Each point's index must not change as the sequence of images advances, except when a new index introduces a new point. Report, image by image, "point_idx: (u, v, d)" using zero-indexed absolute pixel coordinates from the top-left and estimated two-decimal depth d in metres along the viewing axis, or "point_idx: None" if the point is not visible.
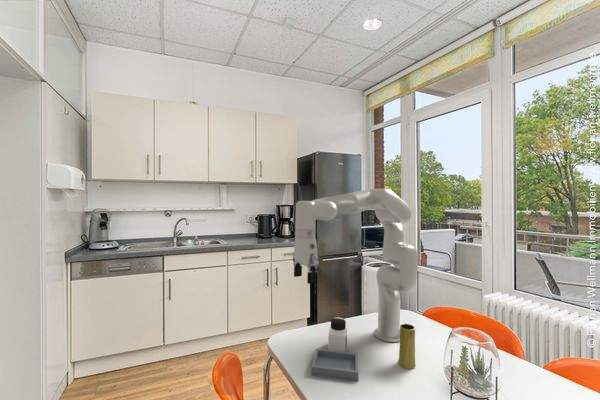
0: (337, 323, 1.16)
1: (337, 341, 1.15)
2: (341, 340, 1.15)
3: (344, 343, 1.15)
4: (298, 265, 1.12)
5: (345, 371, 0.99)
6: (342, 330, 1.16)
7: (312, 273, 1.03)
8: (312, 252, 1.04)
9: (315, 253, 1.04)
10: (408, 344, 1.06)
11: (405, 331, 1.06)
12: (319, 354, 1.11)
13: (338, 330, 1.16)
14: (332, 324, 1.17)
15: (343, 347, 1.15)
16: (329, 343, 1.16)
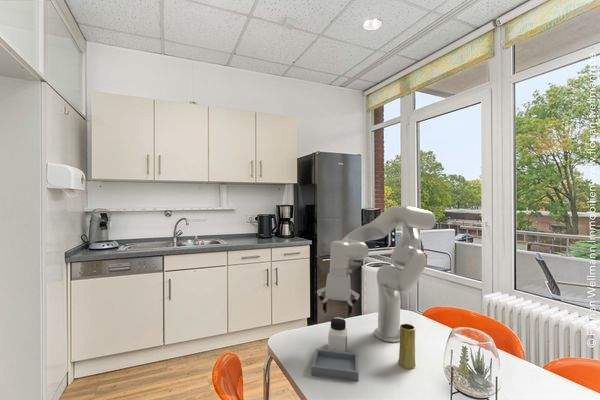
0: (337, 323, 1.16)
1: (337, 341, 1.15)
2: (341, 340, 1.15)
3: (344, 343, 1.15)
4: (326, 301, 1.19)
5: (345, 371, 0.99)
6: (342, 330, 1.16)
7: (352, 305, 1.17)
8: (350, 287, 1.18)
9: None
10: (408, 344, 1.06)
11: (405, 331, 1.06)
12: (319, 354, 1.11)
13: (338, 330, 1.16)
14: (332, 324, 1.17)
15: (343, 347, 1.15)
16: (329, 343, 1.16)
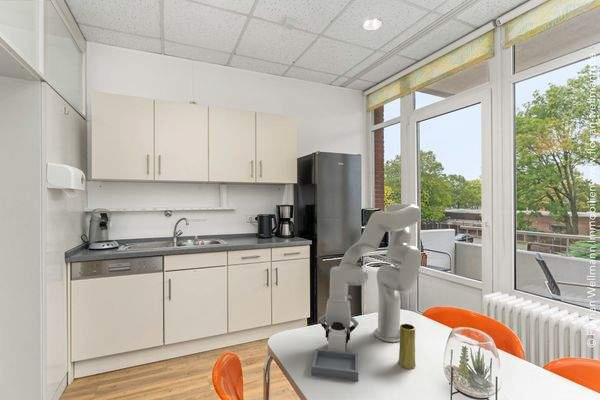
0: (337, 323, 1.16)
1: (337, 340, 1.15)
2: (341, 340, 1.15)
3: (344, 343, 1.15)
4: (328, 329, 1.19)
5: (345, 371, 0.99)
6: (342, 330, 1.16)
7: None
8: (350, 313, 1.18)
9: None
10: (408, 344, 1.06)
11: (405, 331, 1.06)
12: (319, 354, 1.11)
13: (338, 330, 1.16)
14: (332, 324, 1.17)
15: (342, 347, 1.15)
16: (329, 343, 1.16)
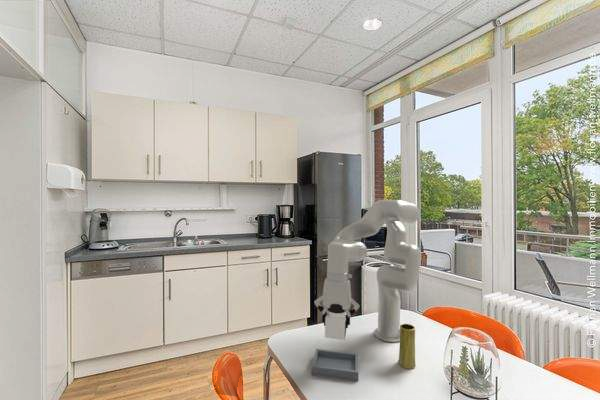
0: (335, 305, 1.02)
1: (335, 325, 1.01)
2: (339, 324, 1.01)
3: (343, 328, 1.01)
4: (325, 312, 1.05)
5: (345, 371, 0.99)
6: (341, 313, 1.02)
7: (350, 316, 1.03)
8: None
9: None
10: (408, 344, 1.06)
11: (405, 331, 1.06)
12: (319, 354, 1.11)
13: (336, 313, 1.02)
14: (330, 306, 1.03)
15: (341, 333, 1.01)
16: (326, 328, 1.02)
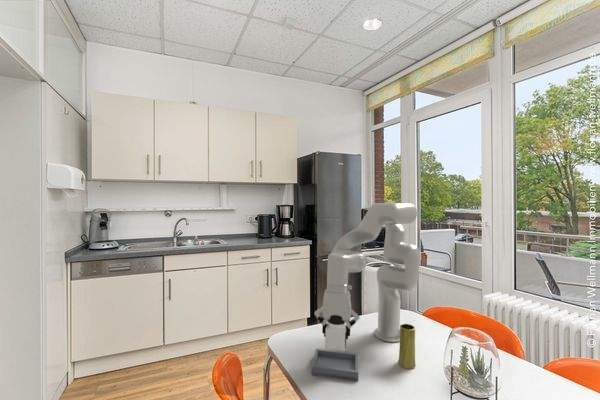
0: (335, 316, 1.02)
1: (335, 336, 1.01)
2: (340, 335, 1.01)
3: (343, 339, 1.01)
4: (326, 323, 1.06)
5: (345, 371, 0.99)
6: (341, 324, 1.02)
7: (350, 327, 1.04)
8: (350, 305, 1.04)
9: None
10: (408, 344, 1.06)
11: (405, 331, 1.06)
12: (319, 354, 1.11)
13: (336, 324, 1.02)
14: (330, 318, 1.03)
15: (342, 344, 1.01)
16: (326, 339, 1.02)
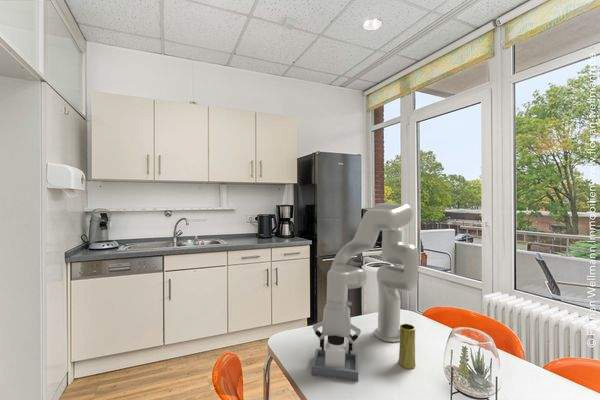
0: (335, 337, 1.02)
1: (335, 357, 1.02)
2: (339, 356, 1.01)
3: (343, 359, 1.01)
4: None
5: (345, 371, 0.99)
6: (341, 344, 1.03)
7: (352, 342, 1.04)
8: (350, 321, 1.04)
9: None
10: (408, 344, 1.06)
11: (405, 331, 1.06)
12: (319, 354, 1.11)
13: (336, 345, 1.02)
14: (329, 338, 1.04)
15: (341, 364, 1.01)
16: (326, 360, 1.02)
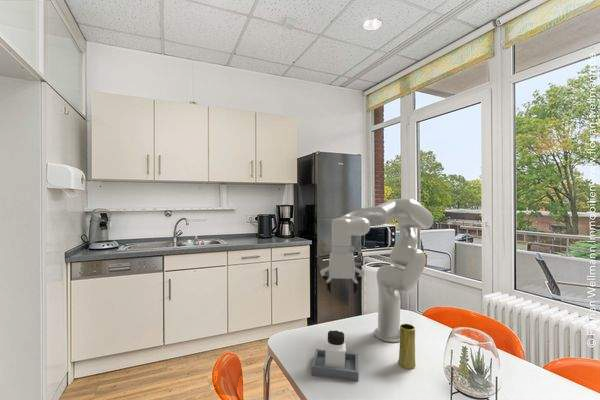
0: (335, 337, 1.02)
1: (335, 357, 1.02)
2: (340, 356, 1.01)
3: (343, 359, 1.01)
4: (330, 281, 1.16)
5: (345, 371, 0.99)
6: (341, 344, 1.03)
7: None
8: (354, 264, 1.14)
9: None
10: (408, 344, 1.06)
11: (405, 331, 1.06)
12: (319, 354, 1.11)
13: (336, 345, 1.02)
14: (329, 338, 1.03)
15: (341, 364, 1.01)
16: (326, 360, 1.02)
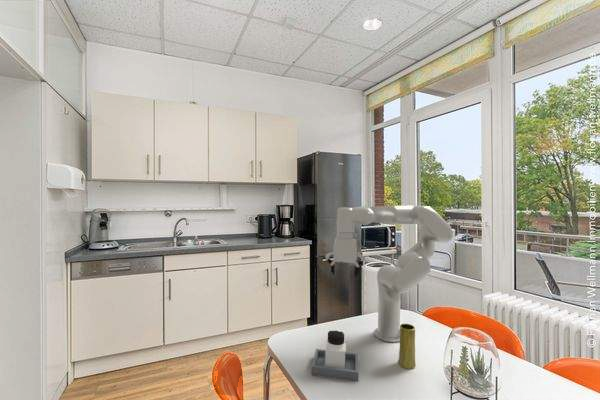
0: (335, 337, 1.02)
1: (335, 357, 1.02)
2: (339, 356, 1.01)
3: (343, 359, 1.01)
4: None
5: (345, 371, 0.99)
6: (341, 344, 1.03)
7: None
8: (356, 250, 1.25)
9: None
10: (408, 344, 1.06)
11: (405, 331, 1.06)
12: (319, 354, 1.11)
13: (336, 345, 1.02)
14: (329, 338, 1.04)
15: (341, 364, 1.01)
16: (326, 360, 1.02)
